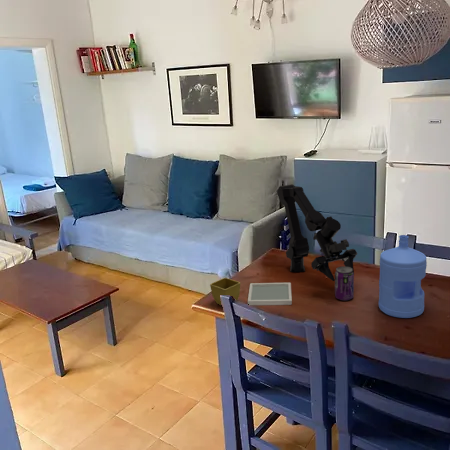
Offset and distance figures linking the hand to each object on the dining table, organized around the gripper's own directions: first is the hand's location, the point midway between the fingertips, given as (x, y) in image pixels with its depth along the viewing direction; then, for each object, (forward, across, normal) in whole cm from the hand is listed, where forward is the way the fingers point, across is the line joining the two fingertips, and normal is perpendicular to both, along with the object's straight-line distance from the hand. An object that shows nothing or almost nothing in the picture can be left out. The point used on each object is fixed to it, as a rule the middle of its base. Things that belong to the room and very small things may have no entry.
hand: (343, 278), depth 181 cm
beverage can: (+6, 0, +6) cm, 8 cm away
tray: (-6, -24, +18) cm, 30 cm away
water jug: (+19, +11, -7) cm, 23 cm away
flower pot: (-8, -42, +20) cm, 47 cm away
